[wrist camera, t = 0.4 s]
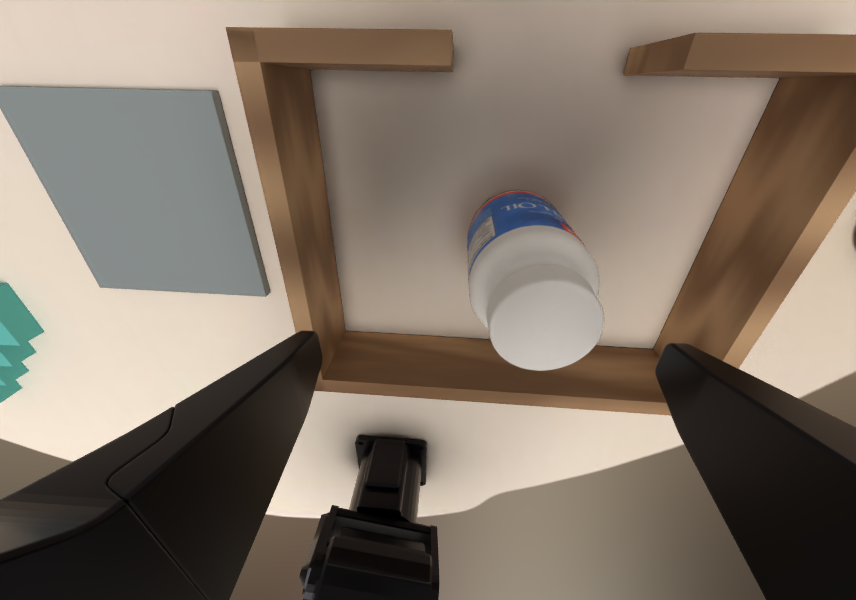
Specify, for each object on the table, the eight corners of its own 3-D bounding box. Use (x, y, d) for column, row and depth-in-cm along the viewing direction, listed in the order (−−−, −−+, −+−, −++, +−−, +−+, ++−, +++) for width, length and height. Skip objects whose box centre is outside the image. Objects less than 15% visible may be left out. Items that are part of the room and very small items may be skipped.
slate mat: (270, 292, 24) (266, 296, 23) (107, 283, 25) (100, 287, 24) (217, 90, 18) (210, 90, 17) (1, 86, 18) (-13, 86, 18)
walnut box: (662, 360, 24) (705, 417, 20) (333, 340, 26) (309, 390, 22) (817, 51, 15) (958, 35, 11) (285, 43, 16) (225, 27, 12)
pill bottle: (578, 209, 19) (667, 298, 11) (530, 285, 22) (573, 402, 14) (490, 172, 19) (516, 237, 10) (452, 255, 21) (448, 360, 13)
